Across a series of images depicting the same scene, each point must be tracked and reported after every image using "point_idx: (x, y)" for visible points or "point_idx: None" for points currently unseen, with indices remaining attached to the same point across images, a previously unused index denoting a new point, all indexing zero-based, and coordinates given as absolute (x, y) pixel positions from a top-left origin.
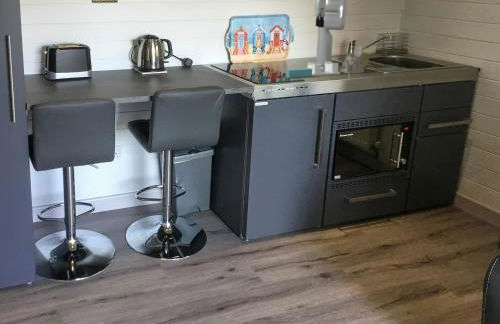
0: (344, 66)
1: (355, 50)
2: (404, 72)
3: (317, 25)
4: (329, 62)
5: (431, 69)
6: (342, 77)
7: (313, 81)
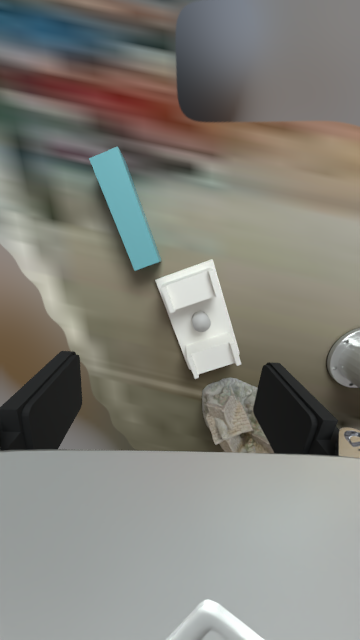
0: (216, 395)
1: None
2: None
3: (262, 382)
4: (234, 357)
5: None
6: (130, 360)
7: (45, 253)
